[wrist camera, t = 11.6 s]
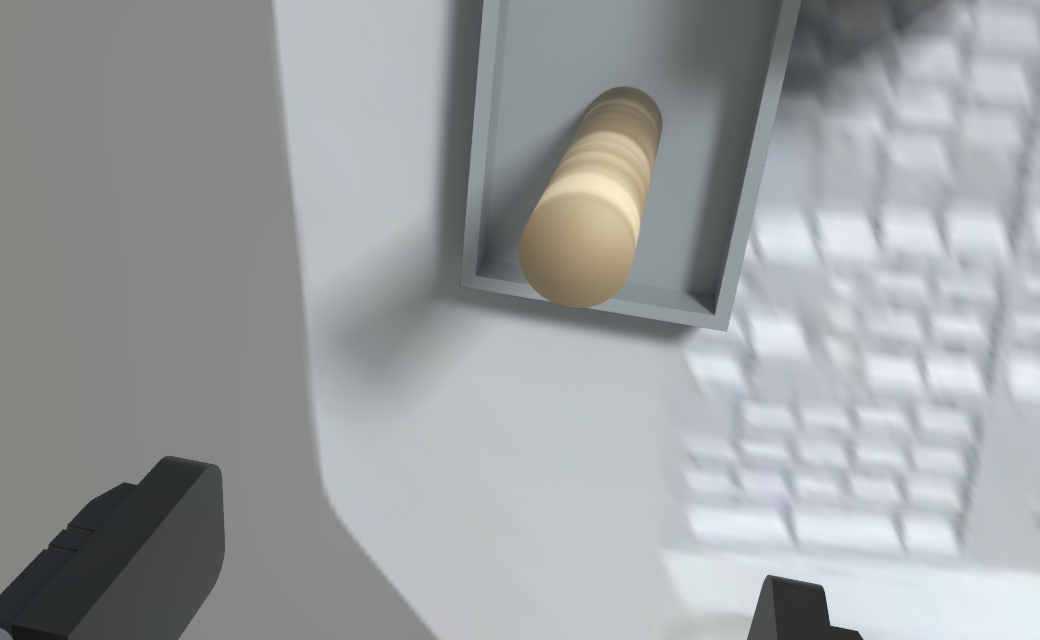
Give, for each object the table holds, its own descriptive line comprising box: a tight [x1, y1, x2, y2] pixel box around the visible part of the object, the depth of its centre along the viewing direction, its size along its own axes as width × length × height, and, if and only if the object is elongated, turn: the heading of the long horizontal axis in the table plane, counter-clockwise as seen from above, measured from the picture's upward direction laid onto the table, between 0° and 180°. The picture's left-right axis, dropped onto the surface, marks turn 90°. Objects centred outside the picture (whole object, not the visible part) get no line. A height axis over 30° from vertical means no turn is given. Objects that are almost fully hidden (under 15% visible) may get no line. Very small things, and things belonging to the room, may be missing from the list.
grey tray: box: [460, 0, 802, 332], centre depth 37 cm, size 14×11×2 cm
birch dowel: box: [518, 86, 662, 308], centre depth 31 cm, size 3×3×14 cm
